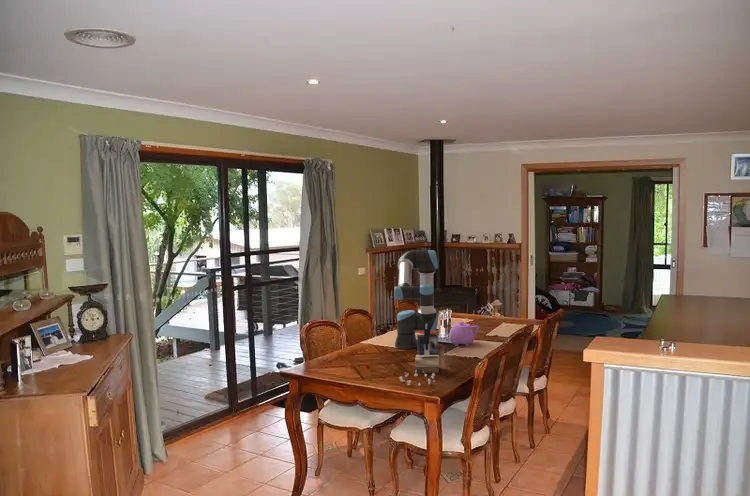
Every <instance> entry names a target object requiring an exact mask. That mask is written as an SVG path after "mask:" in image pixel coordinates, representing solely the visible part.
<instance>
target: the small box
mask: <svg viewBox="0 0 750 496" xmlns="http://www.w3.org/2000/svg"><path fill="white" fill-rule="evenodd" d="M416 336H417V337H416V339H417V348H416V350H417V351H416V353H417V355H424V344H423V343H424V334H416ZM438 339H439V338H438V335H437V334H436V333H430V334H429V352H430V355H439V347H438V346H439V342H438V341H439V340H438Z"/></svg>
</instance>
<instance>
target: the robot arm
mask: <svg viewBox="0 0 750 496" xmlns="http://www.w3.org/2000/svg"><path fill="white" fill-rule="evenodd" d="M438 268H439V264H438V258H437V252H436V250H433V249H421V250H414V249H413V250H409V251H406V252H404V253H403V254H402V255H401V256H400V258H399V259H398V261H397V269H398V283H397V286H394V291H393V293H394V294H393V295H394V300H401V301H403V300H405V301H406V300H419V307H418V308H419V309H418V310H417V312H416V311H415V310H413V309H408V310H402V311H399V312H397V314H396V322H397V323H396V325H397V327H396V330H397V331H396V332H397V333H396V334H397V335H396V338H395V342H394V347H395V348H396V349H401V350H411V349H412V350H413V349H417V337H416V336H417V335H416V332H417V331H421V332H422V331H423V335H424V343H423V344H424V355H426V356H429V355H430V352H429V334H431V331H436V330H437V328H438V323H439V312H437V310H436V308H435V305H434V301H435V299H434V291H435V290H434V289H435V288H434V286H435V285H434V284H435V283H434V274H435V273H436V272H437V271H436V270H438ZM413 269H414V270H417V271H416V272H417V273H419V285H414V286H413V285H412V270H413Z"/></svg>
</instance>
